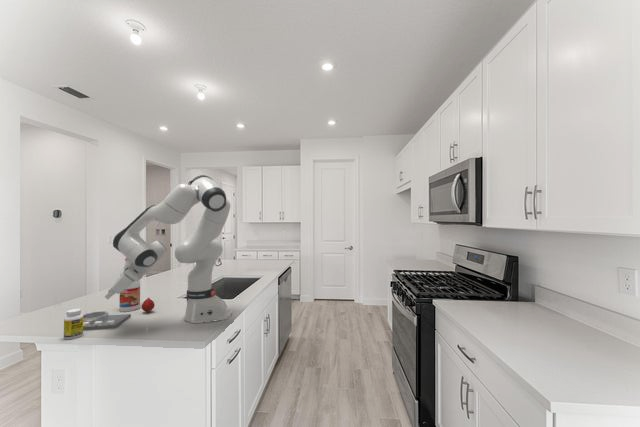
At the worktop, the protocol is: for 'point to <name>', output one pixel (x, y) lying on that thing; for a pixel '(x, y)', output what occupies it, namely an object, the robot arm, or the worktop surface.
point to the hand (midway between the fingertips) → (107, 295)
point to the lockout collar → (95, 317)
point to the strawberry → (148, 305)
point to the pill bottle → (73, 324)
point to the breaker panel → (107, 322)
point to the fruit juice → (130, 295)
